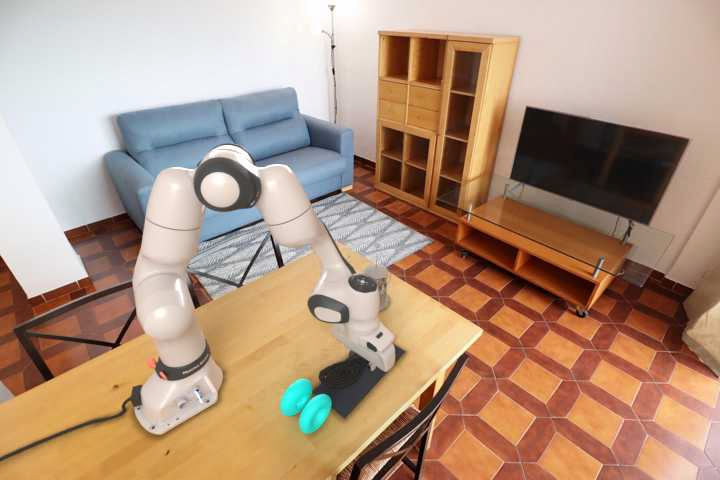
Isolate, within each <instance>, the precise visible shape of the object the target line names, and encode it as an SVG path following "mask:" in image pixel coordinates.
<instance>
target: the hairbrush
mask: <svg viewBox="0 0 720 480" xmlns="http://www.w3.org/2000/svg"><path fill="white" fill-rule="evenodd" d="M395 349H396V348H395ZM345 360H346V359H345ZM345 360H342V361H339V362H338V361H337V362H335V363H333V364H331V365H328V366H326V367H324V368H323V369H321V370H320V371H319V373H318V379H319V382H320V384H323V385H325V386H326V387H328V388H330V389H344V388H346V387H348V386H351V385H353V384H354V383H355V382H356V381H357V380H358V379H359V378H360V377H361V375H362V373H363V371H364V369H365V367H366V365H367V364H368V362H369V361H368V360H366V359H365V358H363V357H361V358H358V359H354V358H352V360H346V361H345ZM360 365H361V370H360ZM355 370H356V372H355ZM349 372H350V373H349ZM345 373H346V374H345ZM342 374H345V375H342Z"/></svg>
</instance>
